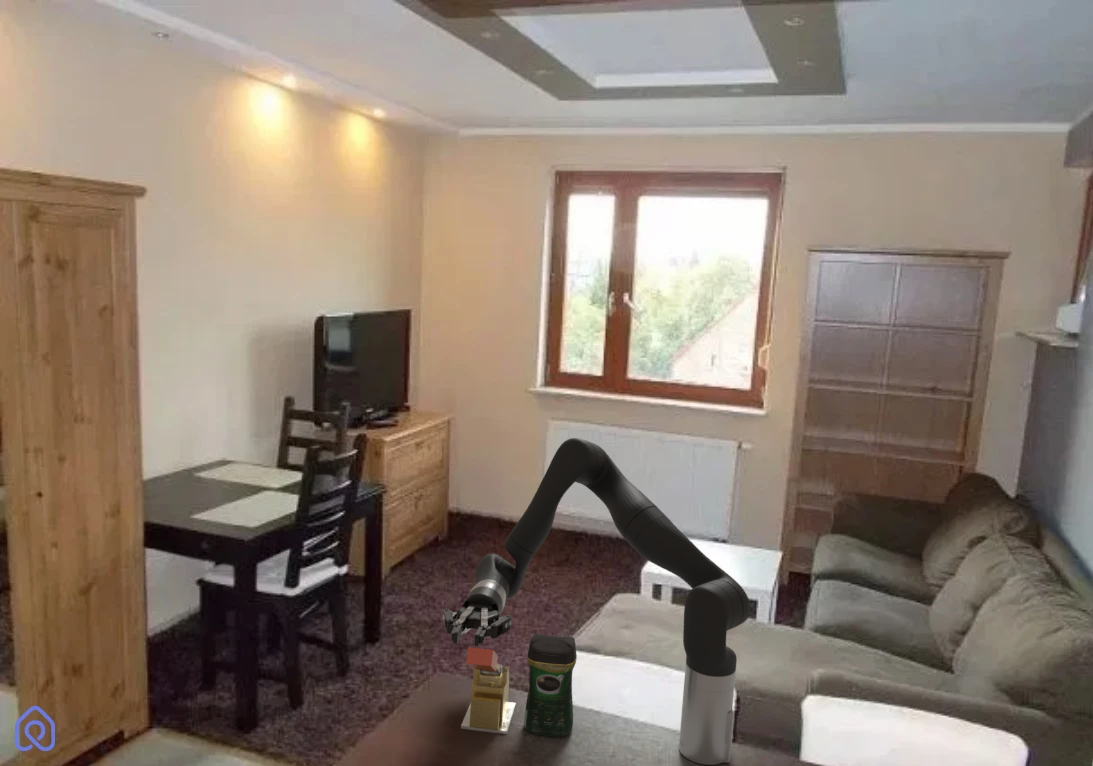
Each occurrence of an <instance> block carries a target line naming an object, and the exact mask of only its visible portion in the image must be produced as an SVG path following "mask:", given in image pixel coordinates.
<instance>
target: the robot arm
mask: <svg viewBox="0 0 1093 766" xmlns="http://www.w3.org/2000/svg"><path fill="white" fill-rule="evenodd" d="M574 483H577V484H580V485H583V486H584V487H586V488H588V489H589V490H590V491H591V492H592V493H593V494H594V495H595V496H596V497H597V498H598V499H600V501H601V502H602V503H603V504H604V505H605V506H606V508H607V509H608V511H609V514H610V516H611V519H612V521H613V523H614V525H615V527H616V529H617V531H618V532H619V533H620V535H621V536H622V538H624V539H625V541H626V542H627V543H628V544H629V545H630V546H631V547H632V548H633V549H634V550H635V551H636V552H637V554H638V555H640V556H641V557H642V558H644V559H645V560H646V561H648V562H650V563H652V564H654V565H656V566H658V567H659V568H662V569H664V570H666V571H667V572H670V573H672V574H673V575H675V576H677V577H678V578H680V579H681V580H682V581H684V582H685V583H686V584H687V585H688V586H689V587H690V588H691V589H690V591H689V592H688V594H687V596H686V599H685V602H684V609H683V632H682V633H683V636H682V639H683V640H682V641H683V643H682V644H683V649H684V652H685V657H686V658H685V669H684V678H683V679H684V681H683V682H684V683H683V691H682V693H683V694H682V704H681V706H682V707H681V717H680V730H679V737H678V738H679V739H678V740H679V742H678V749H679V752H680V754H681V755H682V756H683V757H684V758H686V759H688V761H689V760H690V761H691V762H694V763H697V764H701V765H707V766H714V765H719V764H724V763H725V764H726V763H727V764H729V763H730V760H731V751H732V737H733V727H734V715H735V714H734V710H733V704H734V695H735V681H736V671H737V661H738V660H737V655H736V652H735V650H733V649H732V648H731V647H729V646H727V632H728V631H730V630H732V629H734V628H736V627H739V626H740V625H742V624H744V623H745V622H747V620H748V619H749V617H750V613H751V603H750V599H749V596H748V594H747V593H746V591H745V589H744V588H743V587H742V586H741V584H739V582H738V581H736V580H735V579H734V578H733V577H732V576H731V575H729V573H727V572H726V571H725V570H724V569H722V568H721V567H720V566H719V565H717V564H716V563H715V562H714V561H713V560H711V559H710V558H709V557H708V556H707V555H705V554H704V553H703V552H702V551H701V549H699V548H698V547H697V546H696V545H695V544H694V543H693V542H692V541H691V540H690V539H689V538H688V537H687V536H686V535H685V534H684V533H683V532H682V531H681V530H680V529H679V528H678V527H677V526H676V525H675V524H674V523H673V521H672V520H671V519H670V518H668V516H667V515H666V514H665V513H664V512H663V511H662V510H661V509H660V508H659V507H658V506H657V505H656V504H655V503H654V502H653V501H652V500H651V499H649V498H648V496H646V495H645V494H644V493H643V492H642V491H641V490H640V489H638V488H637V486H635V485H634V484H633V483H632V482H630V481H629V479H628V478H627V477H626V476H625V475H624V474H623V473H622V472H621V470H620V468H618V466H617V465H616V463H615V462H614V461H613V460H612V459H611V457H610V456H609V455H608V453H607V452H606V451H605V449H603V448H602V447H601V446H600V445H598V444H597V443H594V442H591V441H588V440H585V439H583V438H579V437H570V438H568V439H566V440H565V441H563V443H561V444H560V446H559V447H558V448H557V450H556V452H555V454H554V455H553V456H552V459H551V461H550V464H549V466H548V468H547V470H546V472H545V474H544V476H543V478H542V480H541V482H540V483H539V486H538V488H537V490H536V492H535V494H534V495H533V497H532V499H531V501H530V502H529V505H528V506H527V508H526V510H525V511H524V512H523V515H522V516H521V517H520V519H519V520H518V521H517V523H516V524H515V526H514V527H513V528H512V530H511V532H510V533H509V534H508V536H507V537H506V538H505V541H504V544H503V545H504V548H505V550H506V551H507V553H508V554H509V555H510V556H511V557H512V559H513V560H514V562H515V566H514V564H511V563H510V562H509V561H507V560H506V559H504V557H502V556H500V555H499V554H497V553H488V554H486V555H483V557H482V558H481V559H480V561H479V562H478V564H477V566H476V569H475V574H474V575H475V577H474V578H475V580H474V581H475V585H474V586H473V587H472V588H471V589H470V591H469V593H468V595H467V597H466V598H465V600H464V602H463V604H462V606H461V607H460V608H459V609H457V610H456V611H454V612H453V611H451V610H450V609H449V608H444V609H443V610H442V611H443V613H442V625H443V626H444V629H445V632H446V634H450V640H451V641H452V642H453V644H456V645H458V643H459V642H460V639H461V638H462V636H463V634H467V633H468V632H469V631H470V630H472V629H474V630H476V632H475V634H474V643H473V644H474V645H473V646H475V647H479V646H480V645H482V644H484V642H485V640H487V638H488V637H490V639H497V638H499V637H501V636H502V635H503V634H505V633H507V632H508V631H511V628H512V627H511V626H512V615H510V614H506V615H504V616H501V614H502V613H503V612H504V610H505V604H506V601H507V600H508V599H511V598H513V597H514V596H516V595H517V594H518V593H519V592H520V589H521V587H522V584H523V581H524V578H525V575H526V573H527V570H528V567H529V566H530V565H529V564H530V563H531V561H532V559H533V557H534V555H536V553H537V551H538V550H539V549H540V547H541V545H543V543H544V542H545V540H546V539H547V537H548V535H549V534H550V532H551V529H552V528H553V524H554V521H555V516H556V513H557V510H558V506H559V503H560V502H561V500H562V498H563V497H564V495H565V494H566V493H567V491H568V490H569V489H570V488H571V487H572V486H573V485H574ZM455 620H456V621H455Z"/></svg>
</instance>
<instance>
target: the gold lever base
mask: <svg viewBox="0 0 1093 766" xmlns="http://www.w3.org/2000/svg"><path fill="white" fill-rule="evenodd" d="M503 668H504V669H502V675H501V677H494V676H485V675H480V670H477V669H473V673H472V674H473V676H472V679H473V681H472V684H471V689H470V690H471V691H470V694H471V695H470V703H469V706H468V708H467V711H466V713H465V715H464V717H463V719H462V720H463V721H462V723H461V725H460V729H461V730H469V731H470V730H471V731H477V732H487V733H492V734H493V733H494V734H500V735H501V734H503V735H508V731H509V728H510V725H511V722H512V719H513V715H514V712H515V709H516V705H517V702H511V701H509V690H510V689H509V688H510V666H508V665H507V666H504V667H503Z"/></svg>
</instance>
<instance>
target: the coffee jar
mask: <svg viewBox="0 0 1093 766" xmlns="http://www.w3.org/2000/svg"><path fill="white" fill-rule="evenodd" d="M576 646H577V645H576V640H575V637H573V636H568V637H567V636H561V635H560V636H559V635H549V634H539V633H534V634H533V635H532V637H531V639H530V642H529V645H528V651H527V654H526V655H527V656H526V660H527V664H528V667H529V681H528V689H527V697H526V703H525V709H524V719H523V721H524V722H523V726H524V728H525V730H526V731H527V732H529V733H531V734H533V735H538V736H545V737H556V738H557V737H560V738H561V737H565V736H567V735H568V734H570V733H571V731H572V729H573V726H574V707H573V706H574V704H573V671H574V668H575V665H576V663H577V659H578V658H577V657H578V656H577V647H576Z"/></svg>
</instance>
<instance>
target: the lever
mask: <svg viewBox="0 0 1093 766" xmlns="http://www.w3.org/2000/svg"><path fill="white" fill-rule="evenodd" d="M498 658H499V655H498V654H497V653H496V652H495V650H494V649H489V648H480V647H479V648H478V647H469V646H468V647H467V654H466V661H465V664H466V665H467V666H468V667H469V668H470V669H472V670H474V669H477V670H480V675H485V676H494V677H501V675H502V673H503V664H502V663H501V664H500V663H499V662H498V660H499V659H498Z"/></svg>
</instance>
